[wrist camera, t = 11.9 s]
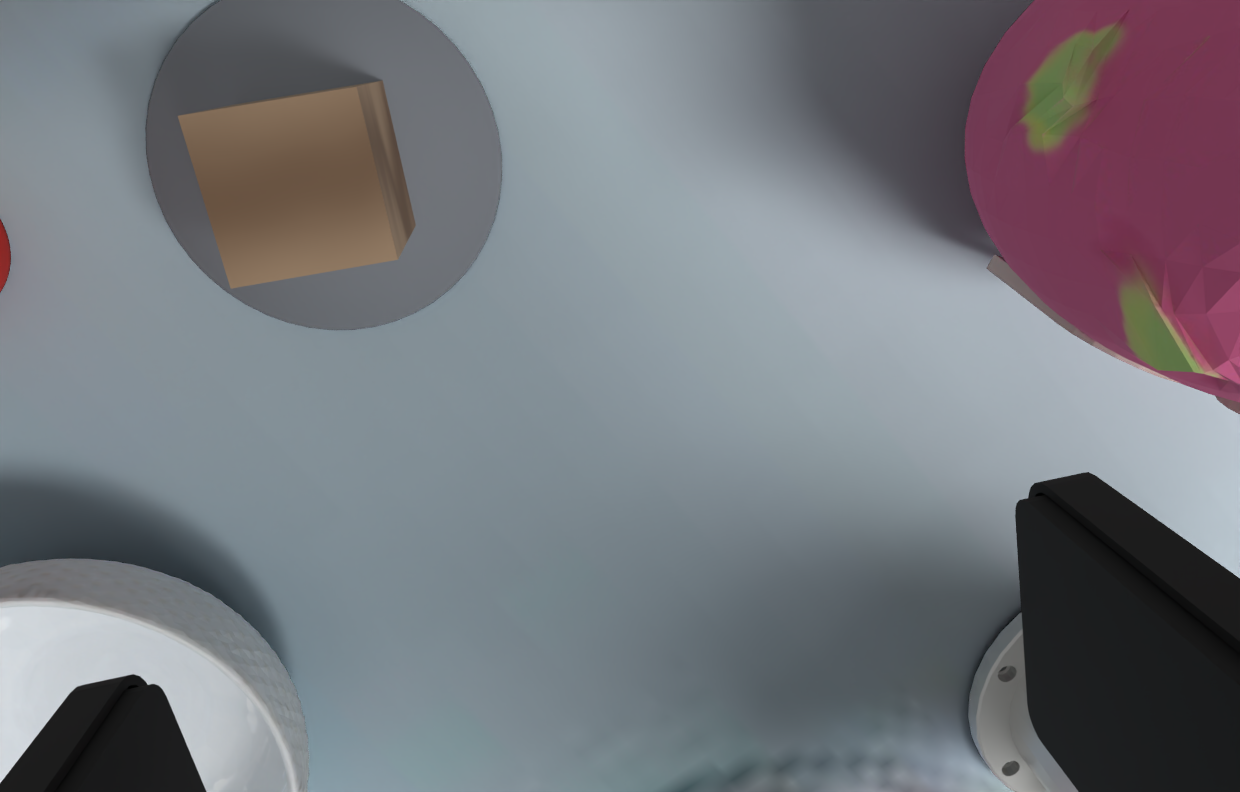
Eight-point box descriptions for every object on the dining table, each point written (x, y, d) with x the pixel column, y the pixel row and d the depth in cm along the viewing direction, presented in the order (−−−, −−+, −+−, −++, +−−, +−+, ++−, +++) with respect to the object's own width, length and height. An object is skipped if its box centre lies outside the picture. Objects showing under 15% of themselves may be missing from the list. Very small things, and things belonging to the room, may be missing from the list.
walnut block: (415, 225, 34) (397, 259, 28) (276, 249, 34) (231, 288, 28) (382, 80, 32) (356, 86, 27) (235, 104, 32) (177, 115, 26)
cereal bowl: (267, 880, 44) (224, 1028, 37) (-129, 795, 40) (-255, 943, 33) (386, 576, 39) (362, 683, 32) (-49, 446, 35) (-177, 538, 29)
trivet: (533, 293, 36) (533, 294, 35) (215, 357, 35) (213, 359, 35) (457, -55, 31) (457, -55, 31) (93, 13, 31) (91, 13, 31)
